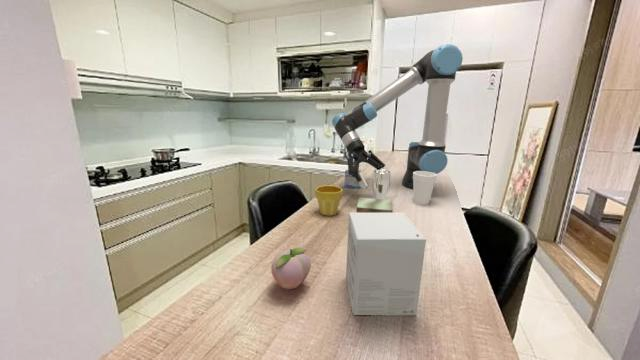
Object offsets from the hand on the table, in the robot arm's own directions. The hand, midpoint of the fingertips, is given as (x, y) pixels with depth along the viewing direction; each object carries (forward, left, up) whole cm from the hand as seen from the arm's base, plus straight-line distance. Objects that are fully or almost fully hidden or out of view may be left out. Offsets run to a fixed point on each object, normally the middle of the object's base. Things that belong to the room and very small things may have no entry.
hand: (376, 184), depth 112 cm
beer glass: (-2, 0, -9) cm, 9 cm away
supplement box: (-2, +56, -9) cm, 57 cm away
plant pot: (+18, +12, -9) cm, 24 cm away
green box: (0, +17, -9) cm, 20 cm away
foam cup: (-20, -9, -9) cm, 23 cm away
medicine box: (+12, -24, -9) cm, 28 cm away
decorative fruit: (+18, +58, -9) cm, 62 cm away
